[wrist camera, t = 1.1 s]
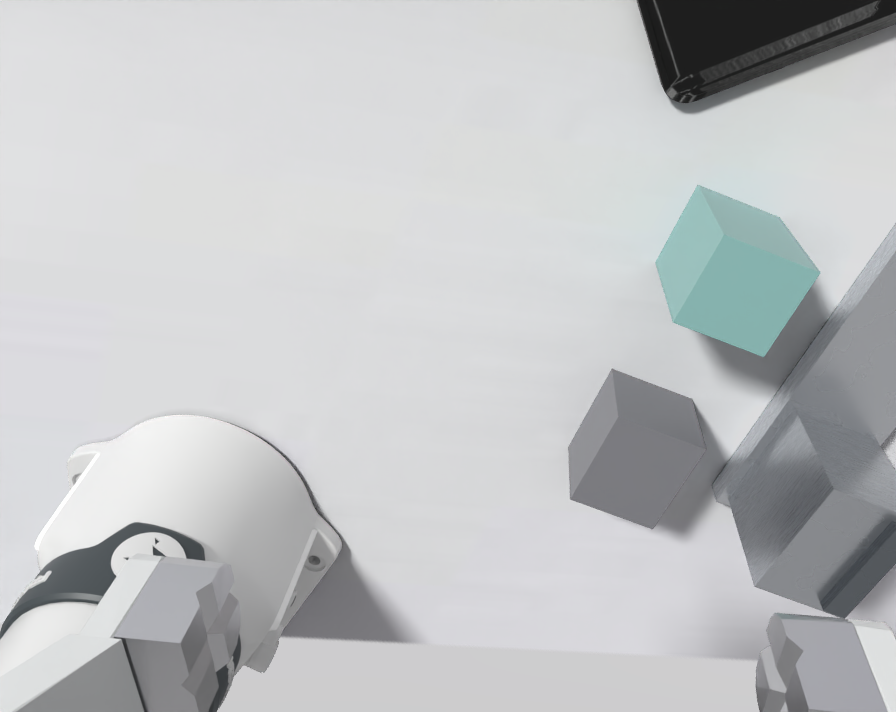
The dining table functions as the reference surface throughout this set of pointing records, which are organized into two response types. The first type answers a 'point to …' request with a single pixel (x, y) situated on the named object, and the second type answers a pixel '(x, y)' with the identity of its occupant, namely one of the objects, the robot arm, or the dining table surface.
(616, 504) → the block
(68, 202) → the dining table surface
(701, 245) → the block
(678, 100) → the phone
